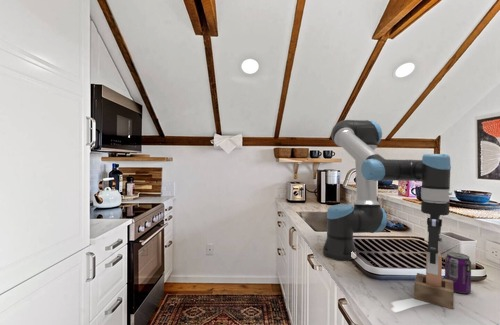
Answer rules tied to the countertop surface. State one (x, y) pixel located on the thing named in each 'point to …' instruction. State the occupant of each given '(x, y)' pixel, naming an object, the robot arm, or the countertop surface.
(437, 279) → the peg
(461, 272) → the beverage can
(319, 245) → the countertop surface
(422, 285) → the socket block
